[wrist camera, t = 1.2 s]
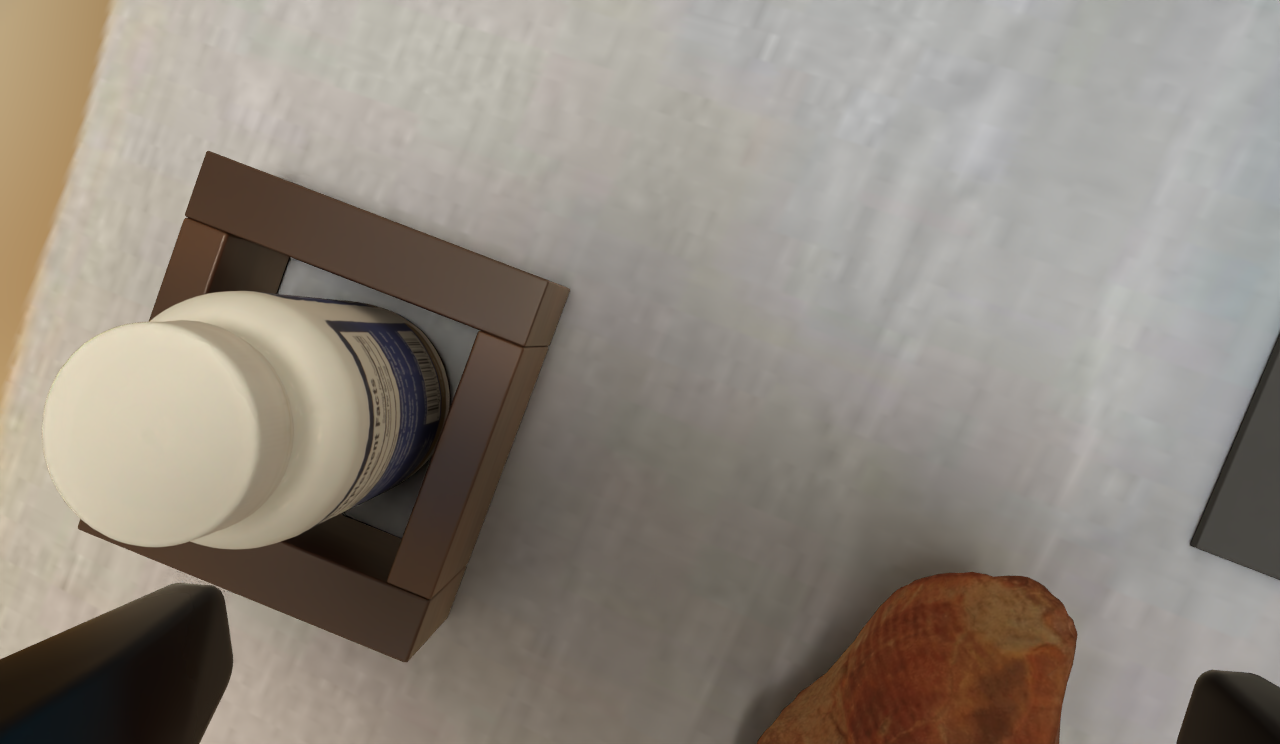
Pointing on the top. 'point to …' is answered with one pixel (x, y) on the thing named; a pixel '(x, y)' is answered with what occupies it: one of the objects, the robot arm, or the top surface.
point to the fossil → (944, 669)
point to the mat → (1250, 486)
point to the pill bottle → (241, 418)
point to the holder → (468, 444)
